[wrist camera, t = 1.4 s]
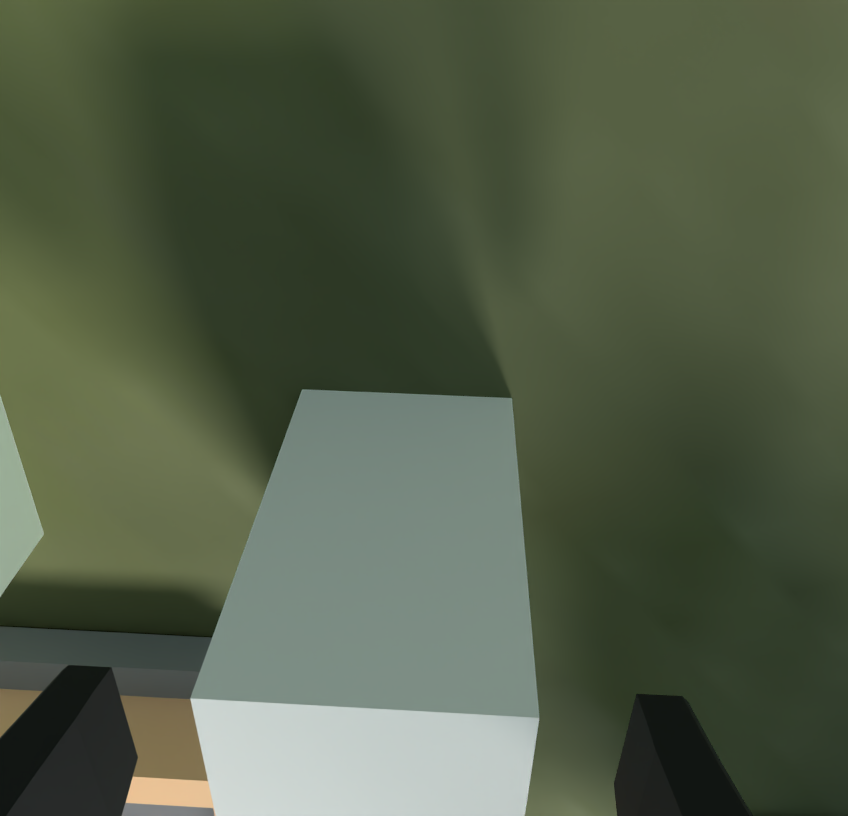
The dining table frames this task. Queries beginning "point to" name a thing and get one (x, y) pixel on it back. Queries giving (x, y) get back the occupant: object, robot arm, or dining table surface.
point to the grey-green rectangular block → (378, 620)
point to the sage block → (14, 508)
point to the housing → (125, 704)
